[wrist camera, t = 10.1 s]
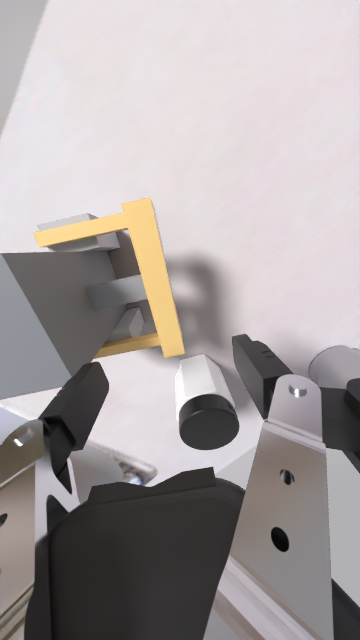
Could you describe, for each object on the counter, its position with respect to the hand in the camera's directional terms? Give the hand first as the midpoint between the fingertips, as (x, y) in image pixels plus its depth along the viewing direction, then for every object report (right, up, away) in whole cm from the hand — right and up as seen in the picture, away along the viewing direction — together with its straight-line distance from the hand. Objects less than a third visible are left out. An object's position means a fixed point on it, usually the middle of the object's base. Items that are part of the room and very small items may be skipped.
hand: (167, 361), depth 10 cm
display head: (-8, +8, +16) cm, 20 cm away
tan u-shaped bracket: (-6, +6, +9) cm, 12 cm away
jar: (+4, -8, +24) cm, 26 cm away
